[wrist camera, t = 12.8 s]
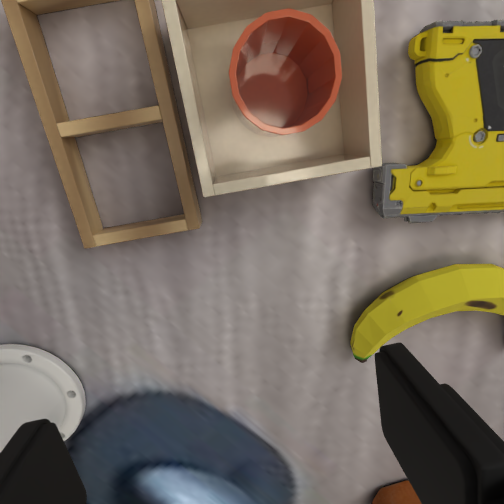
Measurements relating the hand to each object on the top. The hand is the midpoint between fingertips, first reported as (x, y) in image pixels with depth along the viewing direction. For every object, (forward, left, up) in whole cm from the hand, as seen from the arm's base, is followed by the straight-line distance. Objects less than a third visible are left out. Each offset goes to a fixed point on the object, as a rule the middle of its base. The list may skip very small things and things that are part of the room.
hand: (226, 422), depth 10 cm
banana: (+19, -13, -23) cm, 32 cm away
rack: (-7, +11, -23) cm, 26 cm away
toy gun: (+26, +5, -23) cm, 35 cm away
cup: (+5, +11, -22) cm, 25 cm away
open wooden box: (+5, +11, -23) cm, 26 cm away
